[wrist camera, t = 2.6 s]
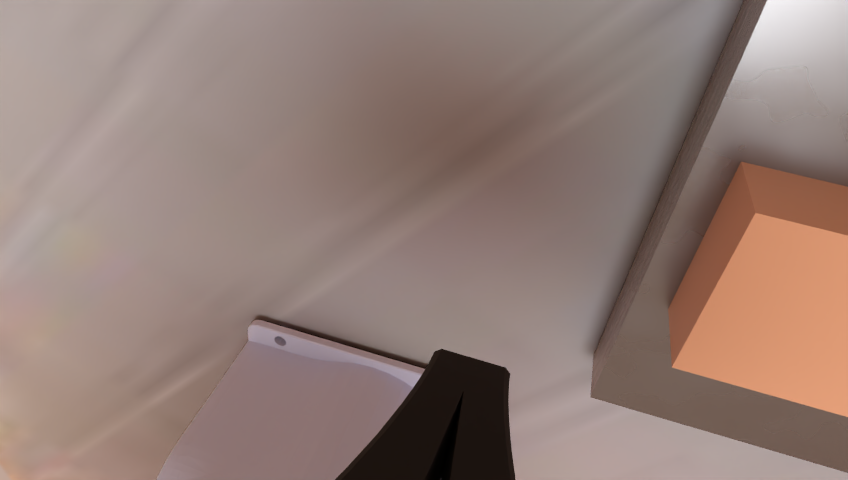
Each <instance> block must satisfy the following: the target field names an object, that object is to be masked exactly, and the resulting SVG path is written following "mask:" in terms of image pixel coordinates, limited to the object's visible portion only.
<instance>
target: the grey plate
mask: <svg viewBox="0 0 848 480" xmlns="http://www.w3.org/2000/svg"><path fill="white" fill-rule="evenodd" d="M741 162H745V163H749V164H754V165H758V166H762V167H766V168H771V169H775V170H779V171H783V172H788V173H792V174H796V175H800V176H804V177H809V178H813V179H817V180H821V181H826V182H830V183H834V184H838V185H843V186H847V187H848V0H744V2H743V4H742V7H741V9H740V12H739V14H738V16H737V19H736V21H735V23H734V26H733V28H732V30H731V33H730V35H729V37H728V40H727V42H726V45H725V47H724V49H723V52H722V54H721V56H720V59H719V61H718V63H717V66H716V68H715V70H714V73H713V75H712V78H711V80H710V82H709V85H708V87H707V89H706V92H705V94H704V96H703V99H702V101H701V103H700V106H699V108H698V111H697V113H696V115H695V118H694V120H693V122H692V125H691V127H690V129H689V132H688V134H687V137H686V139H685V141H684V144H683V146H682V148H681V151H680V153H679V155H678V158H677V160H676V162H675V165H674V167H673V170H672V172H671V174H670V177H669V179H668V181H667V184H666V186H665V188H664V191H663V193H662V195H661V198H660V200H659V203H658V205H657V207H656V210H655V212H654V214H653V217H652V219H651V221H650V224H649V226H648V228H647V231H646V233H645V236H644V238H643V240H642V243H641V245H640V247H639V250H638V252H637V254H636V257H635V259H634V262H633V264H632V266H631V269H630V271H629V273H628V276H627V278H626V280H625V283H624V285H623V287H622V290H621V292H620V295H619V297H618V299H617V302H616V304H615V306H614V309H613V311H612V313H611V316H610V318H609V320H608V323H607V325H606V328H605V330H604V332H603V335H602V337H601V339H600V342H599V344H598V346H597V349H596V351H595V353H594V357H593V371H592V384H591V397H592V398H595V399H599V400H602V401H606V402H609V403H612V404H616V405H619V406H623V407H626V408H629V409H633V410H636V411H640V412H643V413H646V414H650V415H653V416H657V417H660V418H663V419H667V420H670V421H674V422H677V423H680V424H684V425H687V426H691V427H694V428H697V429H701V430H704V431H708V432H711V433H714V434H718V435H721V436H725V437H728V438H732V439H735V440H738V441H742V442H745V443H749V444H752V445H755V446H759V447H762V448H766V449H769V450H772V451H776V452H779V453H783V454H786V455H789V456H793V457H796V458H800V459H803V460H806V461H810V462H813V463H817V464H820V465H823V466H827V467H830V468H834V469H837V470H840V471H844V472H847V473H848V417H846V416H842V415H838V414H835V413H831V412H828V411H824V410H821V409H817V408H814V407H810V406H807V405H803V404H800V403H796V402H792V401H789V400H785V399H782V398H778V397H775V396H771V395H768V394H764V393H761V392H757V391H754V390H750V389H746V388H743V387H739V386H736V385H732V384H729V383H725V382H722V381H718V380H715V379H711V378H707V377H704V376H700V375H697V374H693V373H690V372H686V371H683V370H679V369H676V368H672V363H671V346H670V330H669V314H668V308H669V306H670V304H671V302H672V300H673V298H674V296H675V294H676V292H677V290H678V288H679V286H680V284H681V282H682V280H683V278H684V276H685V274H686V272H687V270H688V268H689V266H690V264H691V262H692V260H693V258H694V256H695V254H696V252H697V250H698V248H699V246H700V244H701V242H702V239H703V237H704V235H705V233H706V231H707V229H708V227H709V225H710V223H711V221H712V219H713V217H714V215H715V213H716V211H717V209H718V207H719V205H720V203H721V201H722V199H723V197H724V195H725V193H726V191H727V189H728V187H729V185H730V183H731V181H732V179H733V177H734V175H735V173H736V171H737V169H738V167H739V165H740V163H741Z"/></svg>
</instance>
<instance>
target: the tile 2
mask: <svg viewBox="0 0 848 480" xmlns="http://www.w3.org/2000/svg"><path fill="white" fill-rule="evenodd" d="M668 314H669V330H670V346H671V363H672V368H676V369H679V370H683V371H686V372H690V373H693V374H697V375H700V376H704V377H707V378H711V379H715V380H718V381H722V382H725V383H729V384H732V385H736V386H739V387H743V388H746V389H750V390H754V391H757V392H761V393H764V394H768V395H771V396H775V397H778V398H782V399H785V400H789V401H792V402H796V403H800V404H803V405H807V406H810V407H814V408H817V409H821V410H824V411H828V412H831V413H835V414H838V415H842V416H846V417H848V187H847V186H843V185H838V184H834V183H830V182H826V181H821V180H817V179H813V178H809V177H804V176H800V175H796V174H792V173H788V172H783V171H779V170H775V169H771V168H766V167H762V166H758V165H754V164H749V163H745V162H741V163H740V165H739V167H738V169H737V171H736V173H735V175H734V177H733V179H732V181H731V183H730V185H729V187H728V189H727V191H726V193H725V195H724V197H723V199H722V201H721V203H720V205H719V207H718V209H717V211H716V213H715V215H714V217H713V219H712V221H711V223H710V225H709V227H708V229H707V231H706V233H705V235H704V237H703V239H702V242H701V244H700V246H699V248H698V250H697V252H696V254H695V256H694V258H693V260H692V262H691V264H690V266H689V268H688V270H687V272H686V274H685V276H684V278H683V280H682V282H681V284H680V286H679V288H678V290H677V292H676V294H675V296H674V298H673V300H672V302H671V304H670V306H669V308H668Z"/></svg>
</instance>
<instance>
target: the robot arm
mask: <svg viewBox="0 0 848 480" xmlns="http://www.w3.org/2000/svg"><path fill="white" fill-rule="evenodd" d="M247 331H248V341H247V343H246V344H245V346H244V347H243V349H242V350H241V351H240V353H239V354H238V356H237V357H236V359H235V360H234V361H233V363H232V364H231V366H230V367H229V369H228V370H227V371H226V373H225V374H224V376H223V377H222V379H221V380H220V381H219V383H218V384H217V386H216V387H215V389H214V390H213V391H212V393H211V394H210V396H209V397H208V399H207V400H206V401H205V403H204V404H203V406H202V407H201V408H200V410H199V411H198V413H197V414H196V416H195V417H194V418H193V420H192V421H191V423H190V424H189V426H188V427H187V428H186V430H185V431H184V433H183V434H182V436H181V437H180V438H179V440H178V441H177V443H176V444H175V446H174V447H173V449H172V451H171V452H170V454H169V456H168V457H167V459H166V461H165V463H164V465H163V466H162V468H161V471H160V473H159V475H158V477H157V479H156V480H515V473H514V466H513V458H512V451H511V441H510V428H509V409H508V392H509V378H510V373H509V372H508V370H507V369H506V368H505V367H501V366H498V365H494V364H491V363H488V362H484V361H481V360H477V359H474V358H471V357H467V356H464V355H460V354H457V353H453V352H450V351H447V350H443V349H440V350H438V351H435V352H434V354H433V356H432V358H431V360H430V362H429V364H428V365H427V367H426V369H423V368H420V367H417V366H413V365H410V364H407V363H403V362H400V361H397V360H393V359H390V358H387V357H383V356H380V355H376V354H373V353H370V352H366V351H363V350H360V349H356V348H353V347H350V346H346V345H343V344H340V343H336V342H333V341H330V340H326V339H323V338H319V337H316V336H313V335H309V334H306V333H303V332H299V331H296V330H293V329H289V328H286V327H283V326H279V325H276V324H273V323H269V322H266V321H262V320H254V321H253V322H252V323H251V324H250V325H249V327H248V330H247ZM281 337H282V338H281ZM283 338H284V339H283Z"/></svg>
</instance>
